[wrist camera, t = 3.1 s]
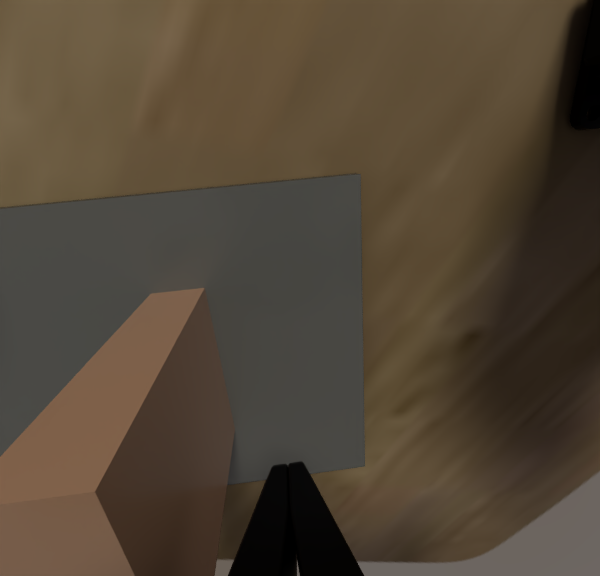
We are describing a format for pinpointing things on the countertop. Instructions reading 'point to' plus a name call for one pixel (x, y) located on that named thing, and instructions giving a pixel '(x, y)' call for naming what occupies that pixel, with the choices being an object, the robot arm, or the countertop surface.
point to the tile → (126, 456)
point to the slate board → (221, 299)
